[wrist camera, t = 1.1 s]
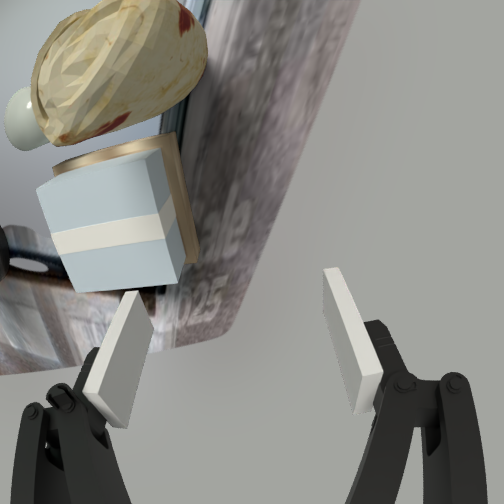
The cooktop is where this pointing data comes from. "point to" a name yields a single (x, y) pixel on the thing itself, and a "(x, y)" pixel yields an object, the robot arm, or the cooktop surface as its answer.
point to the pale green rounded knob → (23, 122)
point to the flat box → (115, 223)
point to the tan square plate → (172, 172)
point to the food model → (115, 68)
